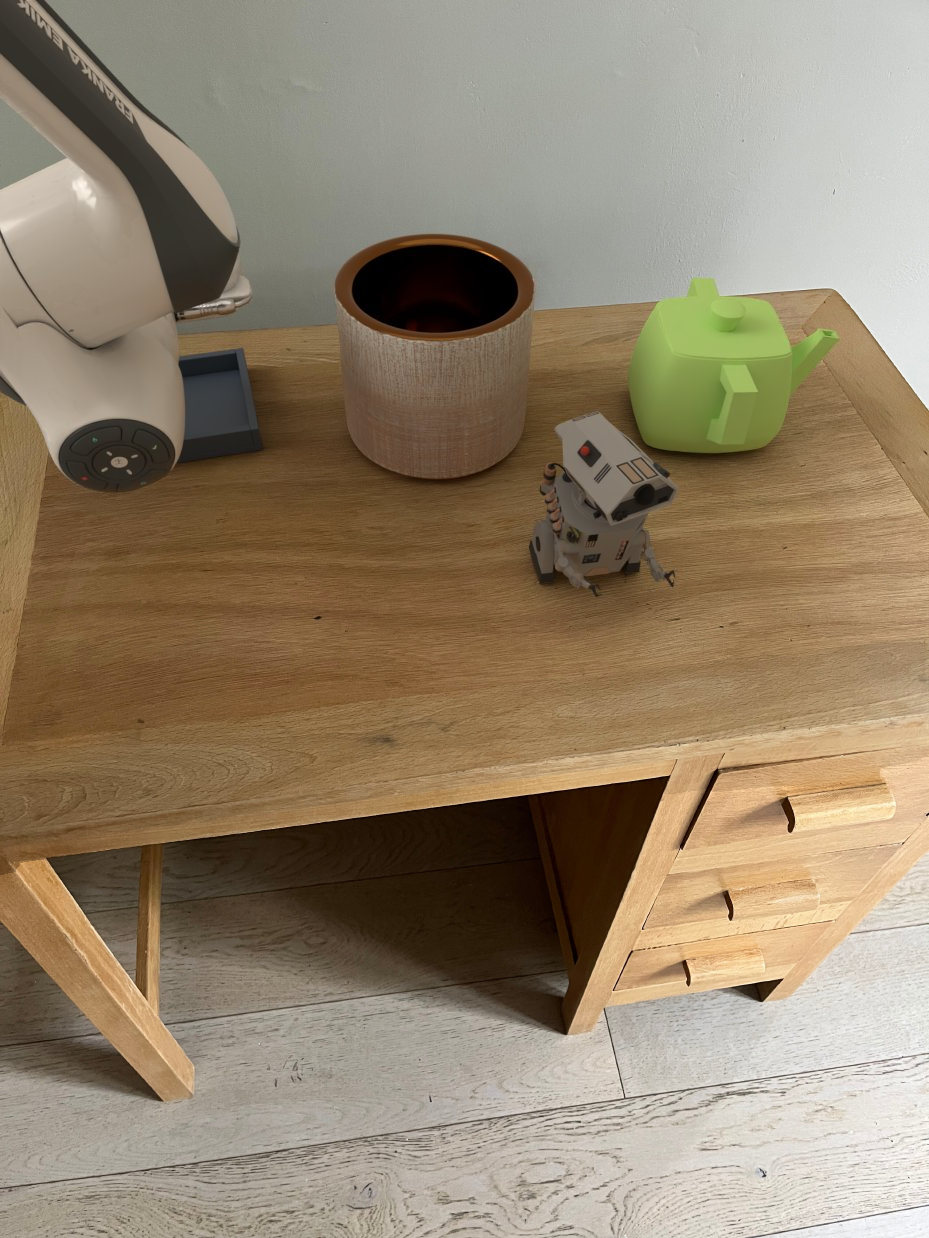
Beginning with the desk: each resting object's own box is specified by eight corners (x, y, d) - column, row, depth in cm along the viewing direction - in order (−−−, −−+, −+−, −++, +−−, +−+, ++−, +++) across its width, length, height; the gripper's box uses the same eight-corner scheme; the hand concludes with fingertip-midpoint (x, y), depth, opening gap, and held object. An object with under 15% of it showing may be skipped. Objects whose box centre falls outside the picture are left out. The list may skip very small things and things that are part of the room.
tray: (74, 479, 80) (65, 458, 78) (75, 392, 89) (66, 371, 87) (263, 449, 84) (259, 428, 82) (247, 368, 92) (243, 347, 90)
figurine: (554, 639, 70) (578, 506, 58) (524, 538, 77) (539, 401, 65) (661, 626, 71) (705, 492, 59) (622, 528, 78) (654, 391, 66)
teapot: (778, 363, 94) (819, 250, 84) (832, 488, 82) (888, 373, 72) (612, 363, 94) (633, 249, 84) (641, 488, 81) (670, 372, 71)
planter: (369, 502, 79) (356, 355, 67) (332, 388, 90) (314, 244, 78) (548, 468, 83) (567, 323, 71) (492, 363, 93) (500, 221, 81)
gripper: (248, 267, 63) (229, 183, 71) (-50, 303, 59) (-33, 210, 68) (262, 343, 68) (243, 256, 76) (-12, 380, 64) (-1, 284, 73)
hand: (111, 234), depth 72 cm, fingers closed on beverage cup, 7 cm apart
